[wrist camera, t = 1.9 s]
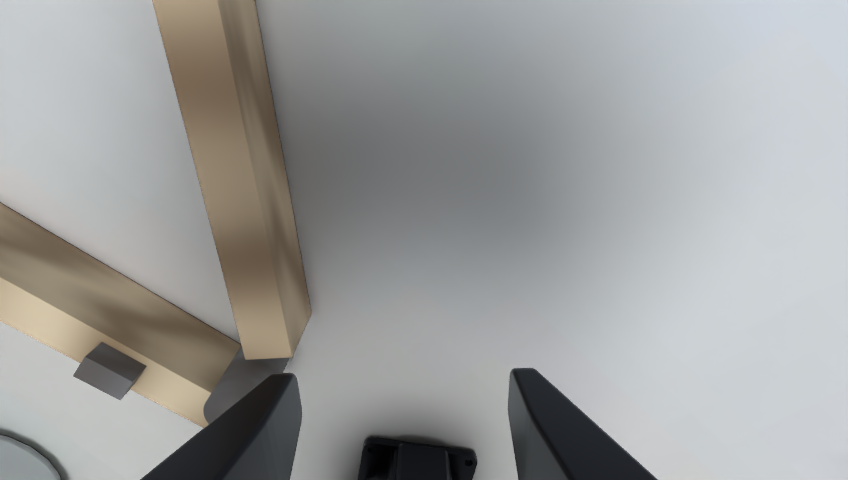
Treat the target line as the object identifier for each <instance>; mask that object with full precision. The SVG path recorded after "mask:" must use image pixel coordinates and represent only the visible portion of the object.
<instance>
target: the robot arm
mask: <svg viewBox="0 0 848 480" xmlns="http://www.w3.org/2000/svg"><path fill="white" fill-rule="evenodd" d="M508 415H509V422H510V428H511V435H512V441H513V447H514V454H515V460H516V466H517V472H518V479H519V480H658V479H657V478H655V477H654V476H653V475H652V474H651V473H650V472H649V471H648V470H647V469H645V468H644V467H643V466H642V465H641V464H640V463H639V462H638V461H637V460H635V459H634V458H633V457H632V456H631V455H630V454H629V453H628V452H627V451H625V450H624V449H623V448H622V447H621V446H620V445H619V444H618V443H617V442H615V441H614V440H613V439H612V438H611V437H610V436H609V435H608V434H607V433H606V432H604V431H603V430H602V429H601V428H600V427H599V426H598V425H597V424H596V423H594V422H593V421H592V420H591V419H590V418H589V417H588V416H587V415H586V414H584V413H583V412H582V411H581V410H580V409H579V408H578V407H577V406H576V405H574V404H573V403H572V402H571V401H570V400H569V399H568V398H567V397H566V396H565V395H563V394H562V393H561V392H560V391H559V390H558V389H557V388H556V387H555V386H553V385H552V384H551V383H550V382H549V381H548V380H547V379H546V378H545V377H543V376H542V375H541V374H540V373H539V372H538V371H537V370H535V369H533V368H514V369H512V370H511V372H510V381H509V397H508ZM301 420H302V407H301V401H300V394H299V388H298V382H297V378H296V376H295V375H294V374H293V373H275V374H271V375H269V376H268V377H267V378H265V379H264V380H263V381H262V382H261V383H259V384H258V385H257V386H256V387H254V388H253V389H252V390H251V391H249V392H248V393H247V394H246V395H244V396H243V397H242V398H241V399H239V400H238V401H237V402H236V403H235V404H233V405H232V406H231V407H230V408H228V409H227V410H226V411H225V412H223V413H222V414H221V415H220V416H218V417H217V418H216V419H215V420H213V421H212V422H211V423H210V424H208V425H207V426H206V427H205V428H204V429H202V430H201V431H200V432H199V433H197V434H196V435H195V436H194V437H192V438H191V439H190V440H189V441H187V442H186V443H185V444H184V445H182V446H181V447H180V448H179V449H178V450H176V451H175V452H174V453H173V454H171V455H170V456H169V457H168V458H166V459H165V460H164V461H163V462H161V463H160V464H159V465H158V466H156V467H155V468H154V469H153V470H152V471H150V472H149V473H148V474H147V475H145V476H144V477H143V478H142V479H140V480H290V476H291V471H292V466H293V461H294V456H295V451H296V446H297V441H298V436H299V431H300V426H301ZM372 446H373V447H372ZM476 466H477V456H476V454H475V453H474V452H473V451H469V450H462V449H454V448H447V447H440V446H432V445H425V444H418V443H411V442H403V441H396V440H389V439H381V438H368V439H366V440H365V442H364V446H363V452H362V457H361V463H360V468H359V474H358V479H357V480H472V478H473V475H474V472H475V469H476Z"/></svg>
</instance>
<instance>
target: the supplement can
mask: <svg viewBox="0 0 848 480" xmlns="http://www.w3.org/2000/svg"><path fill="white" fill-rule="evenodd" d="M0 480H61V479H60V476H59V474H58V472H57V471H56V470H55V468H54V467H53V466H52V464H51V463H50V462H49V460H48V459H46V458H45V457H44V456H42V455H41V454H40V453H38V452H37V451H36V450H34V449H33V448H32V447H30V446H28V445H26V444H23V443H21V442H19V441H17V440H14V439H12V438H10V437H7V436H2V435H0Z"/></svg>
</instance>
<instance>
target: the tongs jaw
mask: <svg viewBox="0 0 848 480" xmlns="http://www.w3.org/2000/svg"><path fill="white" fill-rule="evenodd" d="M152 2H153V6H154V9H155V13H156V17H157V21H158V25H159V29H160V33H161V36H162V40H163V44H164V48H165V52H166V56H167V60H168V63H169V67H170V71H171V75H172V79H173V83H174V87H175V91H176V94H177V98H178V102H179V106H180V110H181V114H182V118H183V121H184V125H185V129H186V133H187V137H188V141H189V145H190V148H191V152H192V156H193V160H194V164H195V168H196V172H197V175H198V179H199V183H200V187H201V191H202V195H203V199H204V202H205V206H206V210H207V214H208V218H209V222H210V226H211V229H212V233H213V237H214V241H215V245H216V249H217V253H218V256H219V260H220V264H221V268H222V272H223V276H224V280H225V283H226V287H227V291H228V295H229V299H230V303H231V307H232V310H233V314H234V318H235V322H236V326H237V330H238V334H239V337H240V341H241V345H242V349H243V353H244V357H245V360H249V359H269V358H288V357H292V356H293V354H294V352H295V350H296V347H297V345H298V343H299V340H300V338H301V336H302V334H303V331H304V329H305V327H306V324H307V322H308V320H309V318H310V315H311V308H310V303H309V297H308V292H307V286H306V280H305V275H304V269H303V264H302V258H301V253H300V247H299V242H298V236H297V231H296V225H295V220H294V214H293V209H292V203H291V198H290V192H289V187H288V181H287V175H286V170H285V164H284V159H283V153H282V148H281V142H280V137H279V131H278V126H277V120H276V115H275V109H274V104H273V98H272V93H271V87H270V82H269V76H268V71H267V65H266V59H265V54H264V48H263V43H262V37H261V32H260V26H259V21H258V15H257V10H256V4H255V0H152Z"/></svg>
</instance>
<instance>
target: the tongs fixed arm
mask: <svg viewBox="0 0 848 480" xmlns="http://www.w3.org/2000/svg"><path fill="white" fill-rule="evenodd" d="M0 321H2V322H3V323H5V324H7V325H9V326H11V327H13V328H15V329H17V330H19V331H21V332H22V333H24V334H26V335H28V336H30V337H32V338H34V339H36V340H38V341H40V342H41V343H43V344H45V345H47V346H49V347H51V348H53V349H55V350H57V351H59V352H60V353H62V354H64V355H66V356H68V357H70V358H72V359H74V360H76V361H78V362H79V363H81V364H80V365H79V367H78V369H77V370H76V372H75V374H74V375H73V376H74V377H76V378H78V379H80V380H82V381H84V382H86V383H88V384H90V385H92V386H93V387H95V388H97V389H99V390H101V391H103V392H105V393H107V394H109V395H111V396H113V397H115V398H117V399H119V400H121V399H122V398H123V396H124V395H125V394H126V393H127V392H128V391H129V390H130V389H131V390H133V391H135V392H136V393H138V394H140V395H142V396H144V397H146V398H148V399H150V400H152V401H154V402H155V403H157V404H159V405H161V406H163V407H165V408H167V409H169V410H171V411H173V412H174V413H176V414H178V415H180V416H182V417H184V418H186V419H188V420H190V421H192V422H193V423H195V424H197V425H199V426H201V427H203V428H205V427H206V426H207V425H208V424H210V423H211V422H212V421H213V420H215V419H216V418H217V417H218V416H220V415H221V414H222V413H223V412H225V411H226V410H227V409H228V408H230V407H231V406H232V405H233V404H235V403H236V402H237V401H238V400H239V399H241V398H242V397H243V396H244V395H246V394H247V393H248V392H249V391H251V390H252V389H253V388H254V387H256V386H257V385H258V384H259V383H261V382H262V381H263V380H264V379H265V378H267V377H268V376H269V375H271V374H275V373H283V371H284V369H285V367H286V364H287V362H288V360H289V358H290V357H288V358H269V359H249V360H245V357H244V353H243V349H242V345H240V344H239V343H237V342H235V341H234V340H232V339H230V338H228V337H227V336H225V335H223V334H222V333H220V332H218V331H217V330H215V329H213V328H211V327H210V326H208V325H206V324H205V323H203V322H201V321H200V320H198V319H196V318H195V317H193V316H191V315H189V314H188V313H186V312H184V311H183V310H181V309H179V308H178V307H176V306H174V305H172V304H171V303H169V302H167V301H166V300H164V299H162V298H161V297H159V296H157V295H156V294H154V293H152V292H150V291H149V290H147V289H145V288H144V287H142V286H140V285H139V284H137V283H135V282H133V281H132V280H130V279H128V278H127V277H125V276H123V275H122V274H120V273H118V272H117V271H115V270H113V269H111V268H110V267H108V266H106V265H105V264H103V263H101V262H100V261H98V260H96V259H94V258H93V257H91V256H89V255H88V254H86V253H84V252H83V251H81V250H79V249H77V248H76V247H74V246H72V245H71V244H69V243H67V242H66V241H64V240H62V239H61V238H59V237H57V236H55V235H54V234H52V233H50V232H49V231H47V230H45V229H44V228H42V227H40V226H38V225H37V224H35V223H33V222H32V221H30V220H28V219H27V218H25V217H23V216H22V215H20V214H18V213H16V212H15V211H13V210H11V209H10V208H8V207H6V206H5V205H3V204H1V203H0Z"/></svg>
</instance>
